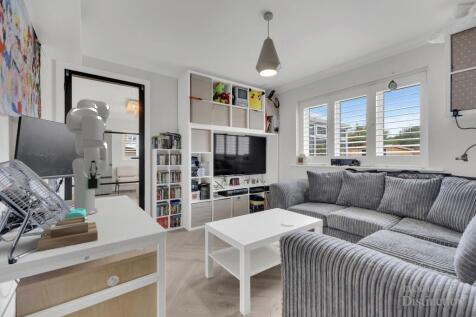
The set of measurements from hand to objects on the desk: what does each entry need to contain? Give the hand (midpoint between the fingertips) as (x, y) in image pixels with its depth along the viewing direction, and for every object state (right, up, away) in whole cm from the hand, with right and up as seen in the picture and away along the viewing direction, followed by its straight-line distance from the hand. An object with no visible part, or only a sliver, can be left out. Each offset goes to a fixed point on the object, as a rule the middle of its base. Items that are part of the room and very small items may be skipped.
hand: (92, 187), depth 90 cm
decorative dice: (-12, -20, +6) cm, 24 cm away
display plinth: (-4, -20, -6) cm, 21 cm away
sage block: (0, -1, 0) cm, 1 cm away
